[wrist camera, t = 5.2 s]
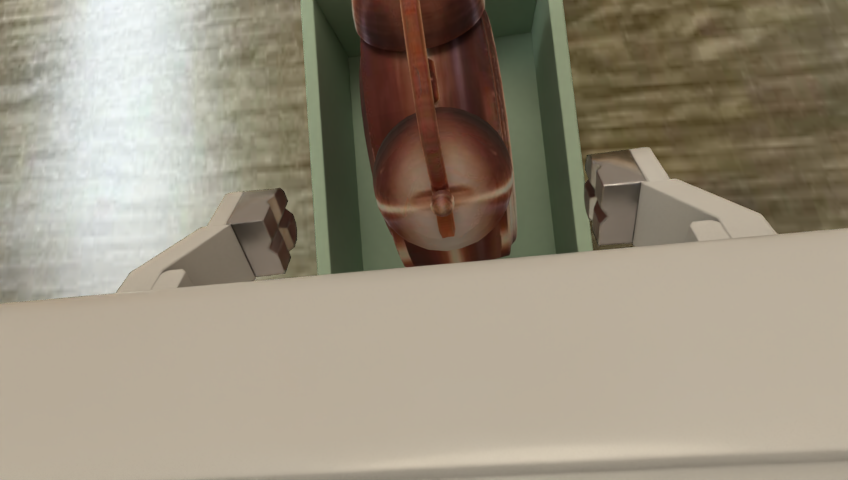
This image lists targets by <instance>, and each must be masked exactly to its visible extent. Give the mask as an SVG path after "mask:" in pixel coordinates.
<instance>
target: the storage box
mask: <svg viewBox="0 0 848 480" xmlns="http://www.w3.org/2000/svg"><path fill="white" fill-rule="evenodd" d="M484 9H485V10H486V12H487V15H488V18H489V21H490V24H491V28H492V33H493V37H494V42H495V46H496V51H497V57H498V62H499V68H500V74H501V80H502V86H503V92H504V99H505V106H506V113H507V120H508V127H509V135H510V143H511V151H512V161H513V170H514V180H515V192H516V206H517V238H516V241H515V242H514V243H513V244H512V245H511V251H510V255H509V256H505V257H501V258H497V259H505V258H517V257H528V256H539V255H550V254H561V253H573V252H584V251H593V247H592V238H591V230H590V222H589V219H588V216H587V213H586V209H585V204H584V184H585V181H584V172H583V164H582V156H581V148H580V139H579V131H578V123H577V115H576V106H575V98H574V90H573V82H572V73H571V65H570V57H569V49H568V40H567V32H566V24H565V16H564V7H563V0H485V8H484ZM301 15H302V31H303V47H304V63H305V80H306V96H307V112H308V128H309V144H310V160H311V176H312V192H313V208H314V224H315V240H316V256H317V272H318V275H326V274H337V273H348V272H360V271H371V270H382V269H393V268H405V266H404V264H403V262H402V260H401V258H400V256H399V254H398V251H397V249H396V246H395V243H394V240H393V236H392V235H391V233H390V231H389V229H388V227H387V225H386V222H385V220H384V218H383V216H382V214H381V212H380V210H379V208H378V205H377V201H376V198H375V193H374V187H373V177H372V172H371V167H370V162H369V157H368V152H367V146H366V140H365V135H364V127H363V120H362V112H361V102H360V88H359V67H360V59H361V52H360V36H359V35H358V33H357V31H356V28H355V23H354V19H353V12H352V3H351V0H301ZM493 260H494V259H493Z"/></svg>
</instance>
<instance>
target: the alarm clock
mask: <svg viewBox="0 0 848 480" xmlns="http://www.w3.org/2000/svg"><path fill="white" fill-rule="evenodd" d="M351 3H352V12H353V19H354V23H355V28H356V31H357V33H358V35H359V36H360V52H361V59H360V67H359V88H360V102H361V112H362V120H363V127H364V135H365V140H366V146H367V152H368V157H369V162H370V167H371V172H372V177H373V187H374V193H375V198H376V201H377V205H378V208H379V210H380V212H381V214H382V216H383V218H384V220H385V222H386V225H387V227H388V229H389V231H390V233H391V235H392V236H393V240H394V243H395V246H396V249H397V251H398V254H399V256H400V258H401V260H402V262H403V264H404V266H405V267H416V266H427V265H438V264H450V263H461V262H472V261H483V260H493V259H497V258H501V257H505V256H509V255H510V251H511V245H512V244H513V243H514V242H515V241H516V238H517V206H516V192H515V180H514V170H513V161H512V151H511V143H510V135H509V127H508V120H507V113H506V106H505V99H504V92H503V86H502V80H501V74H500V68H499V62H498V57H497V51H496V46H495V42H494V37H493V33H492V28H491V24H490V21H489V18H488V15H487V12H486V10H485V9H484V8H485V0H351Z"/></svg>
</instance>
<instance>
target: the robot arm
mask: <svg viewBox="0 0 848 480" xmlns="http://www.w3.org/2000/svg"><path fill="white" fill-rule="evenodd" d="M585 171H586V173H587V176H588V178H589V179H588V180H587V182H586V183H585V184H584V204H585V209H586V213H587V216H588V219H590V220H591V221H593V224H592V230H593V233H594V235H595V238H596V241H597V243H598V245H613V244H629V243H633V245H634V246H635V247H629V248H617V249H606V250H595V251H584V252H573V253H561V254H550V255H539V256H528V257H517V258H505V259H494V260H483V261H472V262H461V263H450V264H438V265H427V266H416V267H405V268H393V269H382V270H371V271H360V272H348V273H337V274H326V275H315V276H303V277H292V278H281V279H270V280H259V281H254V280H255V279H256V278H255V277H261V276H270V275H278V274H285V273H286V270H287V267H288V264H289V262H290V259H291V256H290V254H289V251H290V250H291V249H292V248H294V247H295V244H296V241H297V227H296V222H295V219H294V216H293V214H292V213H290V212H289V211H288V210H287V209H285V207H286V205H287V202H288V200H287V198H286V195H285V193H284V191H283V190H282V189H281V188H275V189H264V190H252V191H240V192H232V193H228V194H225V196H224V198H223V199H222V201H221V203H220V204H219V206H218V208H217V210H216V211H215V213H214V215H213V216H212V218H211V220H210V222H209V223H208V225H207V227H201V228H199V229H198V230H196V231H195V232H193V233H191V234H190V235H188V236H187V237H185V238H184V239H182V240H180V241H179V242H177V243H176V244H174V245H173V246H171V247H169V248H168V249H166V250H165V251H163V252H162V253H160V254H159V255H157V256H155V257H154V258H152V259H151V260H149V261H148V262H146V263H144V264H143V265H141V266H140V267H138V268H137V269H135V270H133V271H132V272H130V273H129V275H128V276H127V278H126V279H125V280H124V282H123V283H122V285H121V286H120V288H119V289H118V291H117V292H116V293H113V294H102V295H90V296H79V297H68V298H57V299H45V300H34V301H23V302H11V303H0V480H848V228H842V229H831V230H819V231H808V232H797V233H786V234H777V233H776V232H775V231H774V229H773V228H772V227H771V226H770V224H769V223H768V222H767V221H766V219H765V218H764V217H763V216H762V214H760V213H757V212H755V211H752V210H750V209H748V208H745V207H743V206H740V205H738V204H736V203H733V202H731V201H729V200H726V199H724V198H721V197H719V196H717V195H714V194H712V193H709V192H707V191H705V190H702V189H700V188H697V187H695V186H693V185H690V184H688V183H685V182H683V181H681V180H678V179H670V178H669V176H668V175H667V173H666V172H665V170H664V169H663V167H662V166H661V164H660V163H659V161H658V159H657V158H656V156H655V155H654V153H653V152H652V150H651V149H650V148H649V147H642V148H636V149H628V150H621V151H613V152H606V153H598V154H591V155H587V158H586V164H585Z"/></svg>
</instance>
